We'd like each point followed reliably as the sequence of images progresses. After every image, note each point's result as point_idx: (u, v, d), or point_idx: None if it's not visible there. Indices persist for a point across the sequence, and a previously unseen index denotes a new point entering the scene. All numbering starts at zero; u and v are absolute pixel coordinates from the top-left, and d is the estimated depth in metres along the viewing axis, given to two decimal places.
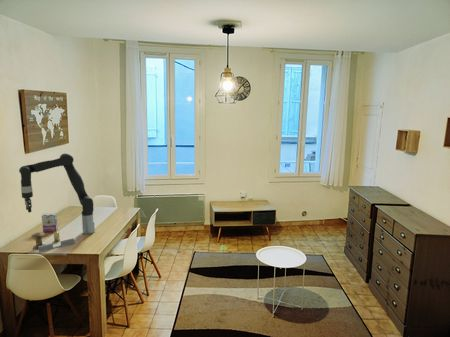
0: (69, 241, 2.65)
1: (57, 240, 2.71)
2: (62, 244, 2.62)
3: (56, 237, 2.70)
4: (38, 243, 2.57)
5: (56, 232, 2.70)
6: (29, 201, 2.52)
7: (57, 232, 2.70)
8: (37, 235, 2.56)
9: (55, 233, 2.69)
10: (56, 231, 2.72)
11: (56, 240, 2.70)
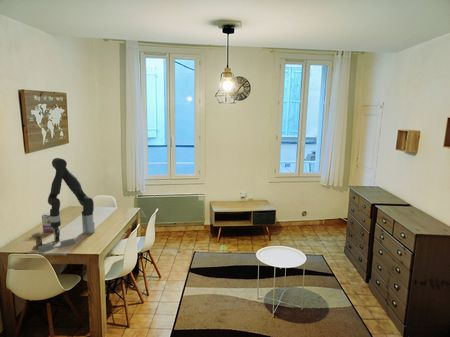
0: (69, 241, 2.65)
1: None
2: (62, 244, 2.62)
3: None
4: (38, 243, 2.57)
5: None
6: (58, 232, 2.66)
7: None
8: (37, 235, 2.56)
9: None
10: None
11: None
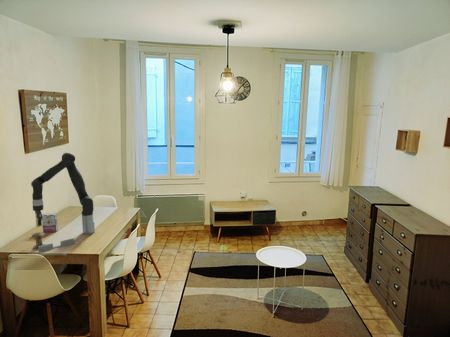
0: (69, 241, 2.65)
1: (39, 225, 2.64)
2: (62, 244, 2.62)
3: None
4: (38, 243, 2.57)
5: None
6: (40, 215, 2.59)
7: None
8: (37, 235, 2.56)
9: None
10: None
11: None
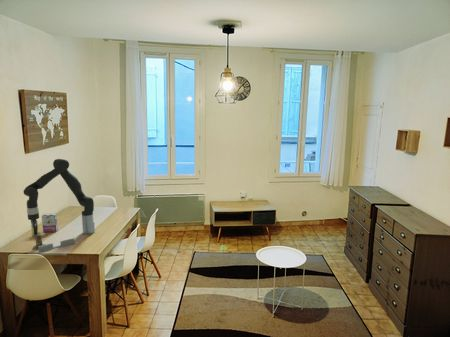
0: (69, 241, 2.65)
1: None
2: (62, 244, 2.62)
3: None
4: (38, 243, 2.57)
5: None
6: (35, 225, 2.43)
7: None
8: None
9: None
10: None
11: None
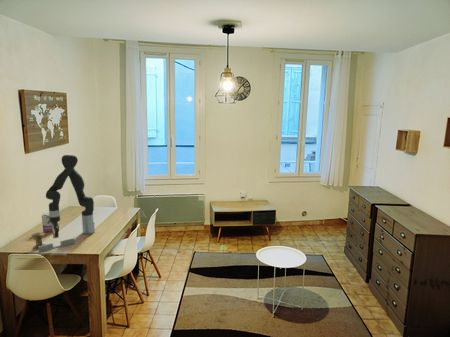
0: (69, 241, 2.65)
1: None
2: (62, 244, 2.62)
3: None
4: (38, 243, 2.57)
5: None
6: (57, 227, 2.52)
7: None
8: (37, 235, 2.56)
9: None
10: None
11: None
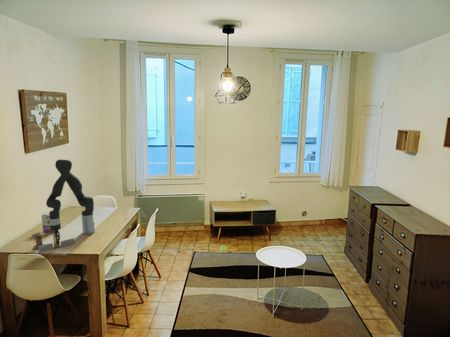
0: (69, 241, 2.65)
1: (57, 245, 2.59)
2: (62, 244, 2.62)
3: None
4: (38, 243, 2.57)
5: None
6: (58, 233, 2.53)
7: (57, 237, 2.58)
8: (37, 235, 2.56)
9: (55, 238, 2.57)
10: None
11: (56, 245, 2.58)
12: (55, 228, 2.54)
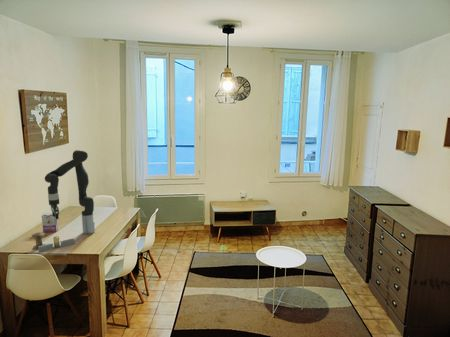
0: (69, 241, 2.65)
1: (57, 245, 2.59)
2: (62, 244, 2.62)
3: (56, 242, 2.58)
4: (38, 243, 2.57)
5: (56, 237, 2.58)
6: (56, 208, 2.55)
7: (57, 237, 2.58)
8: (37, 235, 2.56)
9: (55, 238, 2.57)
10: (56, 236, 2.60)
11: (56, 245, 2.58)
12: (54, 203, 2.56)
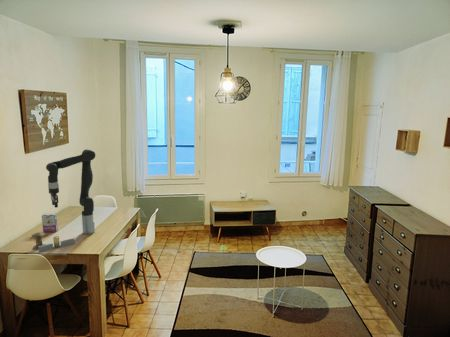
0: (69, 241, 2.65)
1: (57, 245, 2.59)
2: (62, 244, 2.62)
3: (56, 242, 2.58)
4: (38, 243, 2.57)
5: (56, 237, 2.58)
6: (56, 196, 2.62)
7: (57, 237, 2.58)
8: (37, 235, 2.56)
9: (55, 238, 2.57)
10: (56, 236, 2.60)
11: (56, 245, 2.58)
12: (53, 191, 2.63)
